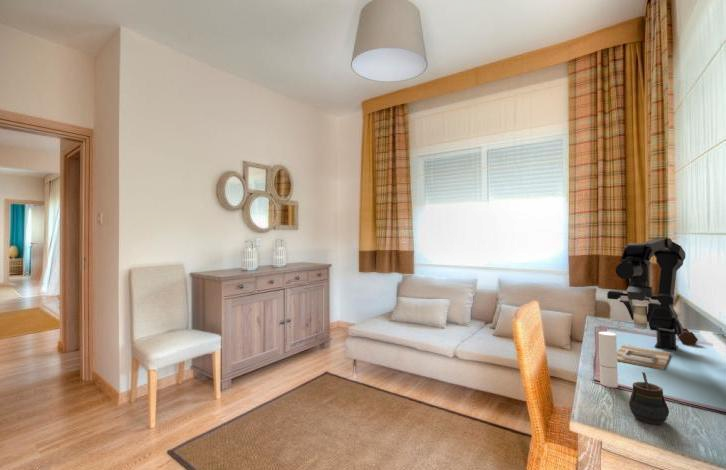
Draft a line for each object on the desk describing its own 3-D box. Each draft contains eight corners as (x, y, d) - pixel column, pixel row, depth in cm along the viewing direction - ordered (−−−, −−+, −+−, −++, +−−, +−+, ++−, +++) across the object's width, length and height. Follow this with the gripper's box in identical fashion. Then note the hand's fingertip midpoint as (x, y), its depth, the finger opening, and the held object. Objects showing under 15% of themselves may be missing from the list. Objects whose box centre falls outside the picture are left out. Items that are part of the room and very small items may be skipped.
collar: (627, 352, 127) (627, 349, 127) (656, 357, 121) (656, 354, 121) (622, 358, 121) (622, 355, 121) (652, 364, 115) (652, 360, 115)
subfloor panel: (623, 346, 136) (623, 344, 136) (670, 354, 126) (670, 352, 126) (611, 359, 122) (611, 357, 122) (663, 369, 112) (663, 367, 112)
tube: (618, 388, 99) (616, 336, 100) (600, 385, 102) (598, 334, 102) (617, 383, 103) (615, 332, 103) (599, 380, 105) (598, 330, 105)
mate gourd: (636, 425, 80) (634, 381, 80) (624, 410, 87) (622, 370, 87) (675, 430, 78) (673, 384, 78) (659, 414, 85) (657, 373, 85)
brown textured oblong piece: (683, 340, 149) (691, 348, 137) (670, 333, 152) (676, 340, 139) (692, 329, 148) (700, 336, 135) (678, 322, 150) (685, 328, 138)
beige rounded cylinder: (634, 325, 128) (634, 304, 128) (648, 327, 125) (647, 305, 125) (632, 327, 125) (632, 305, 126) (646, 329, 122) (646, 307, 123)
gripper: (603, 277, 127) (604, 320, 127) (670, 281, 113) (672, 329, 113) (610, 275, 135) (611, 315, 134) (674, 278, 121) (675, 323, 121)
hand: (640, 320), depth 125 cm, fingers closed on beige rounded cylinder, 4 cm apart
